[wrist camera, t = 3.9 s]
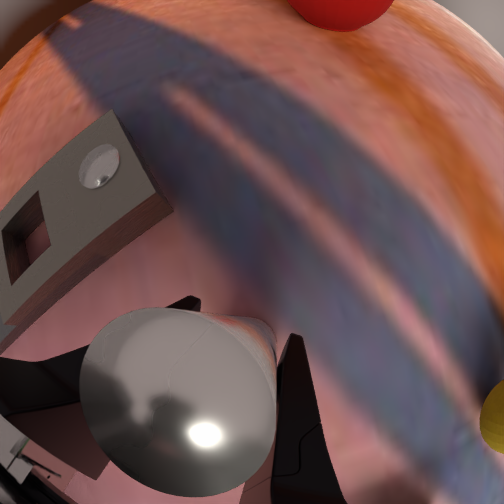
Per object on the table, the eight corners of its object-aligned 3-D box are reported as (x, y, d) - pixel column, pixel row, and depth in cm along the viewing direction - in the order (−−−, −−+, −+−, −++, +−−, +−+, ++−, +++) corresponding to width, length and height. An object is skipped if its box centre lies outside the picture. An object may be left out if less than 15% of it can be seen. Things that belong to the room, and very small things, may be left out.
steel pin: (240, 381, 15) (153, 513, 3) (209, 336, 16) (53, 363, 4) (287, 352, 15) (319, 446, 3) (256, 306, 16) (192, 264, 4)
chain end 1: (29, 326, 17) (1, 324, 14) (7, 239, 19) (-16, 229, 16) (173, 211, 18) (154, 190, 15) (128, 130, 20) (110, 107, 17)
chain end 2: (-7, 361, 16) (-19, 362, 15) (-26, 282, 19) (-37, 279, 17) (109, 258, 18) (95, 252, 16) (76, 170, 20) (65, 161, 18)
